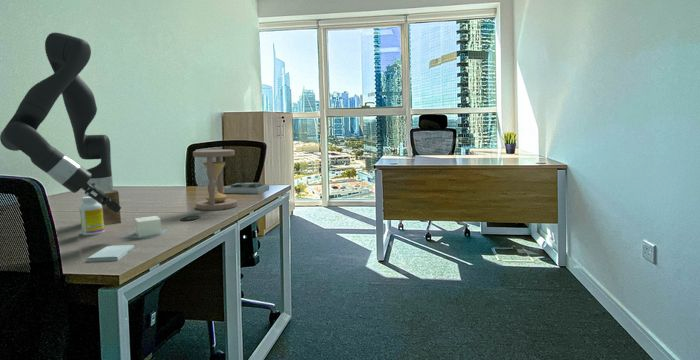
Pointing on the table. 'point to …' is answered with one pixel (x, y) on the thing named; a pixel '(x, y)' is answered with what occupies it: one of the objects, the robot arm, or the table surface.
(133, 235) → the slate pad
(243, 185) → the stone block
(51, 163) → the robot arm
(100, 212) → the supplement bottle
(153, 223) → the cream block
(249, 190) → the grey organizer frame
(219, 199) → the hourglass
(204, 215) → the table surface
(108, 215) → the walnut pillar
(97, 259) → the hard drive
